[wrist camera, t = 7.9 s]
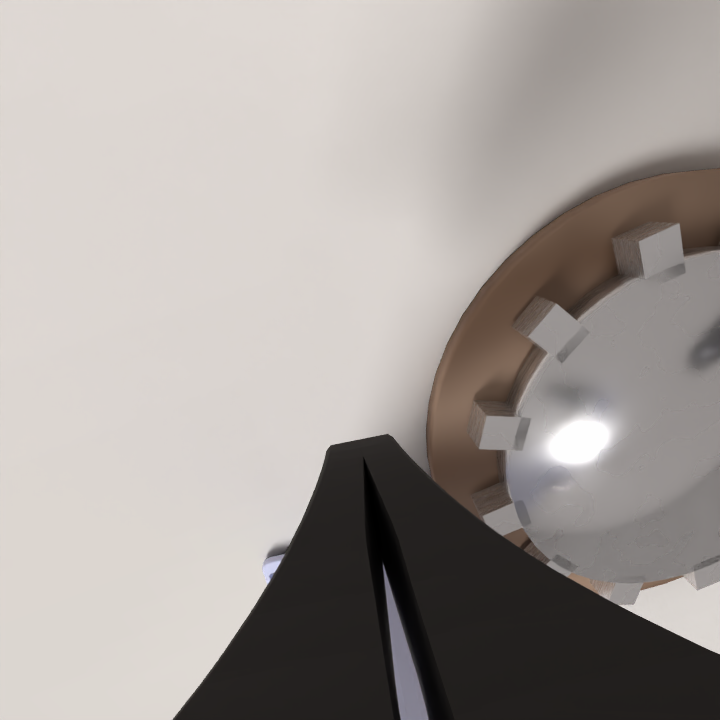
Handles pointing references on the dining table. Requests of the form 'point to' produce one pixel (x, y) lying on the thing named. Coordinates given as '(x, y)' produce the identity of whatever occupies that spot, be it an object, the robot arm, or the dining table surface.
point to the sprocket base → (559, 285)
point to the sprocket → (617, 423)
